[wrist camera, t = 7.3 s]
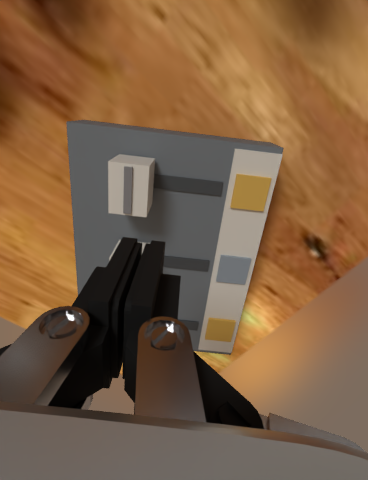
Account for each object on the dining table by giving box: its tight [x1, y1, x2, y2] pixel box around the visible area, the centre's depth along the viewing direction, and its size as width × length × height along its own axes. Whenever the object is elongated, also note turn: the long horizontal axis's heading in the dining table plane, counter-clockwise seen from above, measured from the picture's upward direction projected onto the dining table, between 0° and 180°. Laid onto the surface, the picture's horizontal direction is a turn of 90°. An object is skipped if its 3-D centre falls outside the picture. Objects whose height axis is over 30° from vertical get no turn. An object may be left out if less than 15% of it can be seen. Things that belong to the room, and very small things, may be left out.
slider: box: [108, 154, 155, 217], centre depth 22 cm, size 3×4×4 cm
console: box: [67, 120, 283, 355], centre depth 29 cm, size 18×24×4 cm
